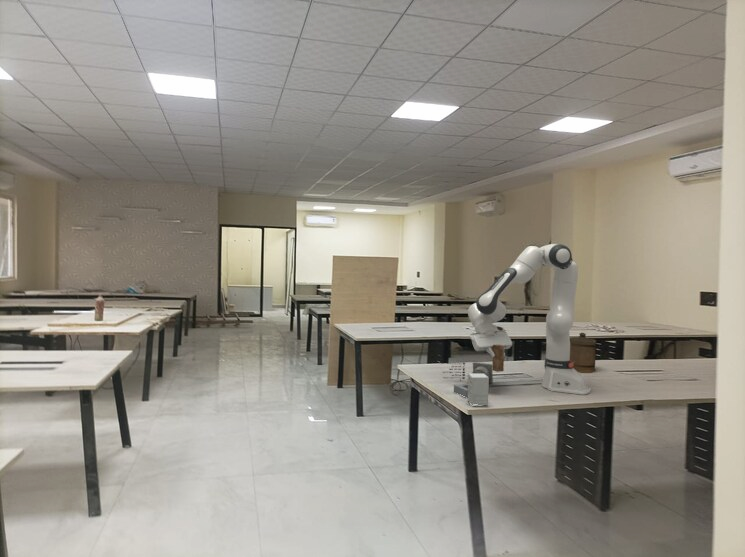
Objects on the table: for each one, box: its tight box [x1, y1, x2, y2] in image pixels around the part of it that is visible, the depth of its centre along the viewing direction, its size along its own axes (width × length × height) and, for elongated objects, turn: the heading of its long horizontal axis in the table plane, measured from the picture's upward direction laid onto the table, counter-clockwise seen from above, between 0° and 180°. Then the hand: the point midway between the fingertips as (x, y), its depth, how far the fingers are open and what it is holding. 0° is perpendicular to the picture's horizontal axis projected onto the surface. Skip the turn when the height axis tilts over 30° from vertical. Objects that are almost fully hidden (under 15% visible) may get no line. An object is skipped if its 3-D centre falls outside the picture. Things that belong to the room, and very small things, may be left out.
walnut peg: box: [492, 344, 505, 373], centre depth 223 cm, size 4×4×12 cm
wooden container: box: [570, 332, 597, 374], centre depth 279 cm, size 15×15×22 cm
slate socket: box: [453, 383, 468, 398], centre depth 222 cm, size 10×10×4 cm
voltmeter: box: [441, 361, 494, 384], centre depth 244 cm, size 27×11×10 cm, turn 93°
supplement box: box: [467, 372, 490, 406], centre depth 207 cm, size 7×7×13 cm
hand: (499, 356), depth 223 cm, fingers closed on walnut peg, 4 cm apart
